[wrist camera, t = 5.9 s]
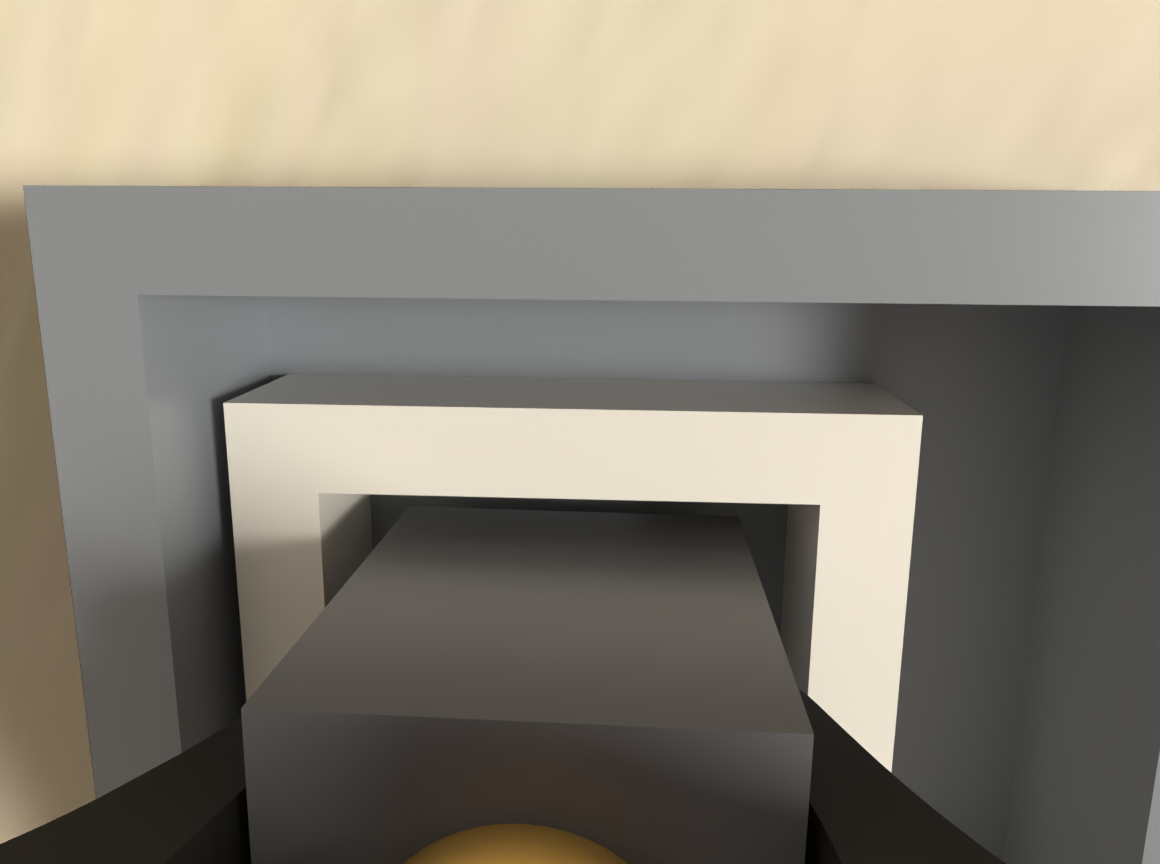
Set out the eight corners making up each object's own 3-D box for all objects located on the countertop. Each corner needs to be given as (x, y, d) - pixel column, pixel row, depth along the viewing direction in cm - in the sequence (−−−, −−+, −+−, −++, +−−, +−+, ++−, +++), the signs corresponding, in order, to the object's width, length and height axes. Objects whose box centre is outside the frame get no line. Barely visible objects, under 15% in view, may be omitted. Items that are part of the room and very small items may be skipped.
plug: (738, 516, 11) (846, 824, 5) (722, 813, 12) (801, 1356, 6) (409, 506, 12) (173, 790, 6) (416, 797, 12) (217, 1310, 6)
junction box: (1151, 200, 11) (1368, 191, 8) (1047, 965, 14) (1181, 1206, 10) (195, 195, 12) (23, 185, 9) (253, 926, 15) (136, 1142, 11)
